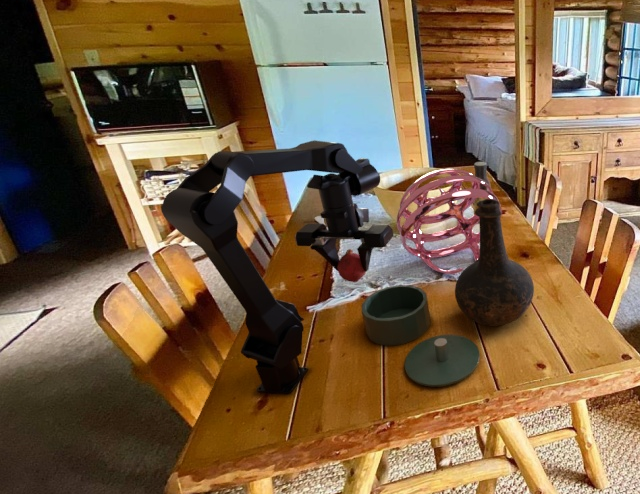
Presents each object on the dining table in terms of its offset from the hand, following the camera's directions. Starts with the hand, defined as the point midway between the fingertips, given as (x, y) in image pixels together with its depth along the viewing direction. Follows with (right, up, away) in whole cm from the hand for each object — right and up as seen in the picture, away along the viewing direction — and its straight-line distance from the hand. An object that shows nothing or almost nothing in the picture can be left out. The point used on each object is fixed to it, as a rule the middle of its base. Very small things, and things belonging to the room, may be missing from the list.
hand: (352, 270), depth 96 cm
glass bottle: (+31, -11, +6) cm, 33 cm away
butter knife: (-30, +11, +48) cm, 58 cm away
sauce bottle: (+21, +14, +55) cm, 61 cm away
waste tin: (+9, -13, +2) cm, 16 cm away
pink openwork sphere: (+16, +1, +30) cm, 34 cm away
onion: (0, -3, +1) cm, 3 cm away
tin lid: (+21, -17, -8) cm, 29 cm away
